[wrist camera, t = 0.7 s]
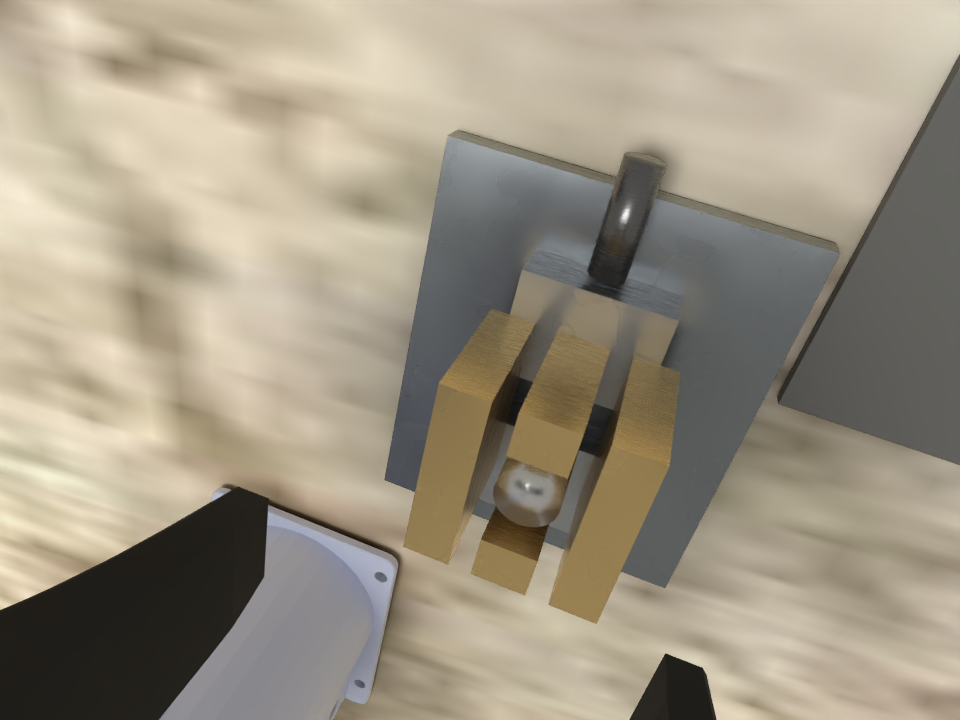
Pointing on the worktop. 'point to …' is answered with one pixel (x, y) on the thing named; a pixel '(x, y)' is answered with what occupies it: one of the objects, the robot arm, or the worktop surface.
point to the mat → (898, 307)
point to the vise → (605, 319)
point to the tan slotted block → (543, 458)
